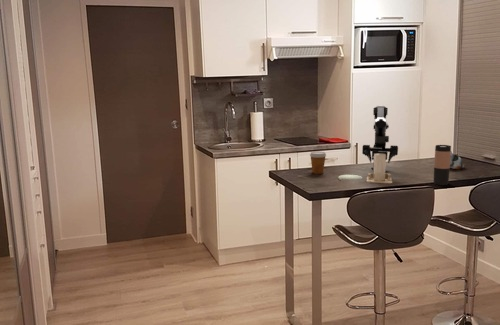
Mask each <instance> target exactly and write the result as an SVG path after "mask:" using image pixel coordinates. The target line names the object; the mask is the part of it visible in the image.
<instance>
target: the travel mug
mask: <svg viewBox="0 0 500 325" xmlns="http://www.w3.org/2000/svg"><path fill="white" fill-rule="evenodd" d="M451 152H452V146H451V145H448V144H436V145H435V147H434V159H433V160H434V161H433V162H434V164H433V184H435V185H438V186H447V185H448V184H449V180H450V170H451V168H450V155H451Z"/></svg>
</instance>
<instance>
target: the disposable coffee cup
mask: <svg viewBox="0 0 500 325" xmlns="http://www.w3.org/2000/svg"><path fill="white" fill-rule="evenodd" d="M309 156H310V161H311V164H310V165H311V170H312V173H313V174H316V175H321V174H323V173H324V171H325V170H324V168H325V161H326V157H327V153H326V152H325V151H311V152H310V154H309Z"/></svg>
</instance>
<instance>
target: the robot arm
mask: <svg viewBox="0 0 500 325" xmlns="http://www.w3.org/2000/svg"><path fill="white" fill-rule="evenodd" d="M372 111H373V113H372V114H373V118H374V122H373V130H374V144H373V147H372V146H370V144H363V145H362V155H364V156H365V157H367V159H368V160H369V163H372V161H374V154H376V153H383V154H386V161H388V162H387V163H388V164H390V163H391V160H392V158H393V157H395V156H398V152H399V146H398V145H391V144H390V147H386V146H387V144H386V143H389V142H390V141H389V140H390V137H389V135H386V132H387V130H388V129H389V124H388V122H387V116H388V107H386V106H385V105H376V106H375V107H374V108H373V110H372ZM388 154H389V155H388ZM386 169H387V168H385V171H386ZM371 170H374V163H373V166H372V167H371Z"/></svg>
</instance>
